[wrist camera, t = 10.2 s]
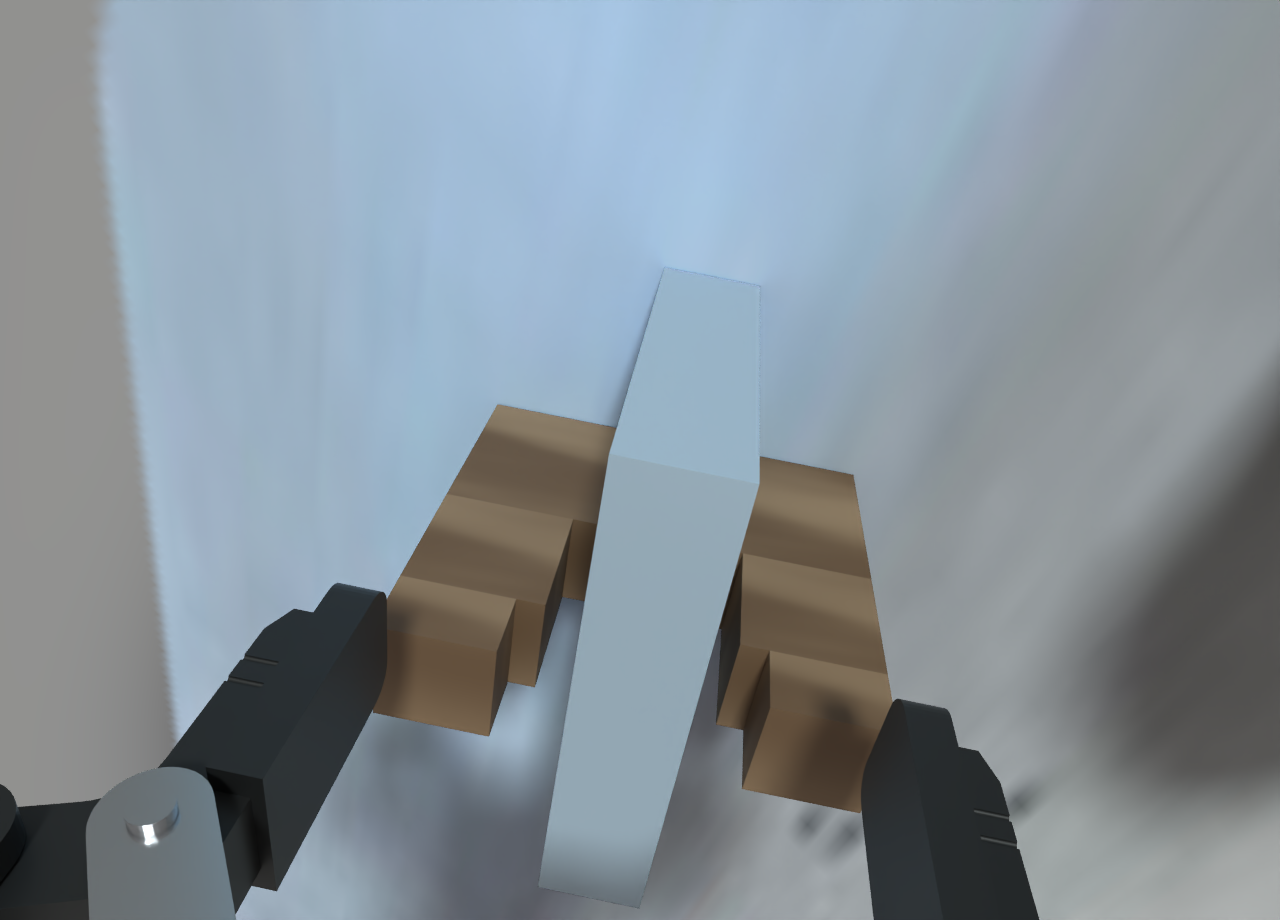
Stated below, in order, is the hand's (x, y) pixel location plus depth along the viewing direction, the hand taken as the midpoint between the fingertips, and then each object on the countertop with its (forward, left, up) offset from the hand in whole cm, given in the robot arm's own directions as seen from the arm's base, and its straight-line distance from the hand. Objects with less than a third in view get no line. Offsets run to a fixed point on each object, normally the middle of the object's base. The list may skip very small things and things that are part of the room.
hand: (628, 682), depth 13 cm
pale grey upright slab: (-3, 0, -11) cm, 11 cm away
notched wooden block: (-3, 0, -11) cm, 11 cm away
